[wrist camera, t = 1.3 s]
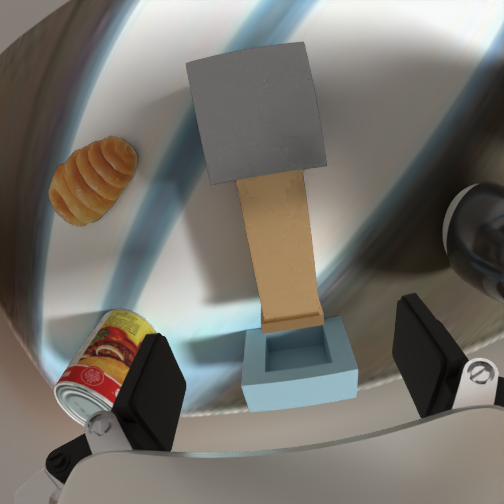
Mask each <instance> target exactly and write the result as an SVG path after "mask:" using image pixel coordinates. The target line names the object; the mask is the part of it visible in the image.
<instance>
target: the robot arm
mask: <svg viewBox="0 0 504 504" xmlns="http://www.w3.org/2000/svg"><path fill="white" fill-rule="evenodd" d="M392 354H393V358H394V361H395V363H396V365H397V367H398V369H399V371H400V373H401V375H402V377H403V379H404V381H405V384H406V386H407V388H408V390H409V392H410V395H411V397H412V399H413V401H414V404H415V406H416V408H417V410H418V413H419V415H420V417H421V418H422V419H419V420H416V421H412V422H409V423H406V424H402V425H399V426H395V427H392V428H388V429H384V430H380V431H376V432H373V433H369V434H364V435H360V436H356V437H351V438H346V439H341V440H337V441H330V442H325V443H319V444H312V445H306V446H299V447H292V448H283V449H272V450H261V451H245V452H220V453H195V452H170V451H171V449H172V446H173V441H174V436H175V433H176V428H177V424H178V420H179V416H180V412H181V408H182V404H183V399H184V395H185V391H186V381H185V379H184V377H183V375H182V372H181V370H180V368H179V366H178V364H177V362H176V359H175V357H174V355H173V353H172V350H171V348H170V346H169V343H168V341H167V339H166V337H165V336H162V335H161V334H160V333H152V334H146V335H145V337H144V339H143V341H142V343H141V345H140V347H139V349H138V352H137V354H136V356H135V358H134V360H133V362H132V364H131V366H130V368H129V371H128V373H127V375H126V377H125V379H124V381H123V384H122V386H121V388H120V390H119V393H118V395H117V397H116V399H115V402H114V404H113V407H112V409H111V411H106V410H102V411H98V412H95V413H94V414H92V415H91V416H90V417H89V418H88V419H87V420H86V422H85V425H84V432H85V433H84V434H83V435H81V436H79V437H77V438H75V439H74V440H72V441H70V442H68V443H66V444H64V445H62V446H61V447H59V448H57V449H55V450H53V451H52V452H51V453H50V454H49V455H48V457H47V459H46V468H45V469H43V468H41V469H40V470H38V471H37V472H36V473H35V474H34V475H33V476H32V477H31V478H29V479H28V480H27V481H26V482H25V483H24V484H23V485H22V486H21V487H20V488H19V489H17V491H16V492H15V494H14V504H504V378H503V377H499V376H498V369H497V367H496V366H495V365H494V364H493V362H491V361H489V360H487V359H484V358H476V359H473V360H470V361H469V360H468V358H467V357H466V356H465V354H464V353H463V351H462V350H461V349H460V347H459V346H458V344H457V343H456V342H455V340H454V339H453V338H452V336H451V335H450V334H449V332H448V331H447V330H446V328H445V327H444V326H443V324H442V323H441V322H440V321H439V320H437V319H436V318H435V317H434V315H433V314H432V313H431V312H430V310H429V309H428V308H427V306H426V305H425V304H424V303H423V301H422V300H421V299H420V298H419V296H418V295H417V294H416V293H412V294H408V295H404V296H402V297H401V300H398V302H397V311H396V322H395V332H394V341H393V349H392Z"/></svg>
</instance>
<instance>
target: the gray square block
mask: <svg viewBox="0 0 504 504" xmlns="http://www.w3.org/2000/svg"><path fill="white" fill-rule="evenodd" d="M186 68H187V73H188V78H189V83H190V88H191V93H192V98H193V103H194V108H195V113H196V118H197V123H198V128H199V133H200V137H201V142H202V147H203V151H204V156H205V161H206V165H207V170H208V174H209V179H210V184H211V185H214V184H219V183H224V182H229V181H235V180H240V179H246V178H251V177H257V176H263V175H269V174H275V173H281V172H287V171H294V170H301V169H308V168H315V167H322V166H327V163H326V156H325V149H324V142H323V136H322V130H321V124H320V118H319V112H318V107H317V101H316V96H315V91H314V86H313V81H312V76H311V71H310V66H309V62H308V57H307V53H306V49H305V44H304V42H296V43H286V44H278V45H271V46H264V47H257V48H251V49H245V50H240V51H235V52H230V53H225V54H220V55H216V56H211V57H207V58H203V59H199V60H195V61H191V62H188V63H186Z"/></svg>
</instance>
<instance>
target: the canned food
mask: <svg viewBox="0 0 504 504" xmlns="http://www.w3.org/2000/svg"><path fill="white" fill-rule="evenodd" d="M152 333H157V332H156V330H155V329H154V328H153V326H152V325H151V324H150V323H149V322H148V321H147V320H146V319H145V318H143V317H142V316H140V315H139V314H137V313H134V312H132V311H129V310H124V309H114V310H111V311H108V312H107V313H106V314H105V315H103V317H102V318H101V319H100V321H99V322H98V324H97V325H96V326H95V328H94V329H93V331H92V332H91V333H90V335H89V336H88V338H87V339H86V340H85V342H84V343H83V345H82V346H81V348H80V349H79V351H78V352H77V354H76V355H75V356H74V358H73V359H72V361H71V362H70V364H69V365H68V367H67V368H66V370H65V371H64V373H63V375H62V376H61V378H60V379H59V381H58V382H57V384H56V385H55V388H54V395H55V398H56V400H57V402H58V403H59V405H60V406H61V408H62V409H63V410H64V411H65V412H66V413H67V414H68V415H69V416H70V417H71V418H73V419H74V420H75V421H77V422H78V423H80V424H81V425H83V426H84V425H85V422H86V420H87V419H88V418H89V417H90V416H91V415H92V414H94V413H95V412H98V411H102V410H106V411H111V409H112V407H113V404H114V402H115V399H116V397H117V395H118V393H119V390H120V388H121V386H122V384H123V381H124V379H125V377H126V375H127V373H128V371H129V368H130V366H131V364H132V362H133V360H134V358H135V356H136V354H137V352H138V349H139V347H140V345H141V343H142V341H143V339H144V337H145V335H146V334H152Z"/></svg>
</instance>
